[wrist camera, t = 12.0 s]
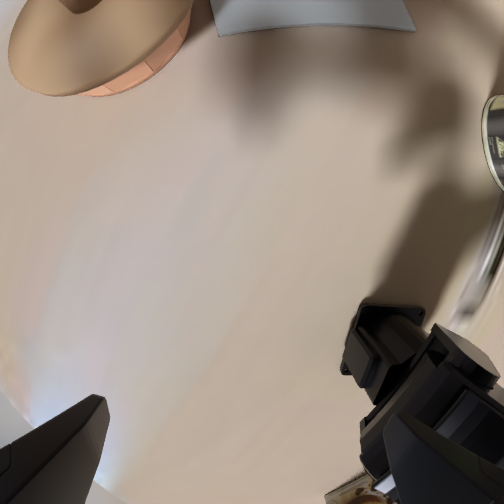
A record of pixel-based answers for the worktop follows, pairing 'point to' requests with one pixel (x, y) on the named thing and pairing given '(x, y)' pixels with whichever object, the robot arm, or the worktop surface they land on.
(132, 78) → the bowl
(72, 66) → the lid
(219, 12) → the mat
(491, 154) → the coffee can
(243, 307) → the worktop surface
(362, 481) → the coffee box
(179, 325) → the worktop surface
